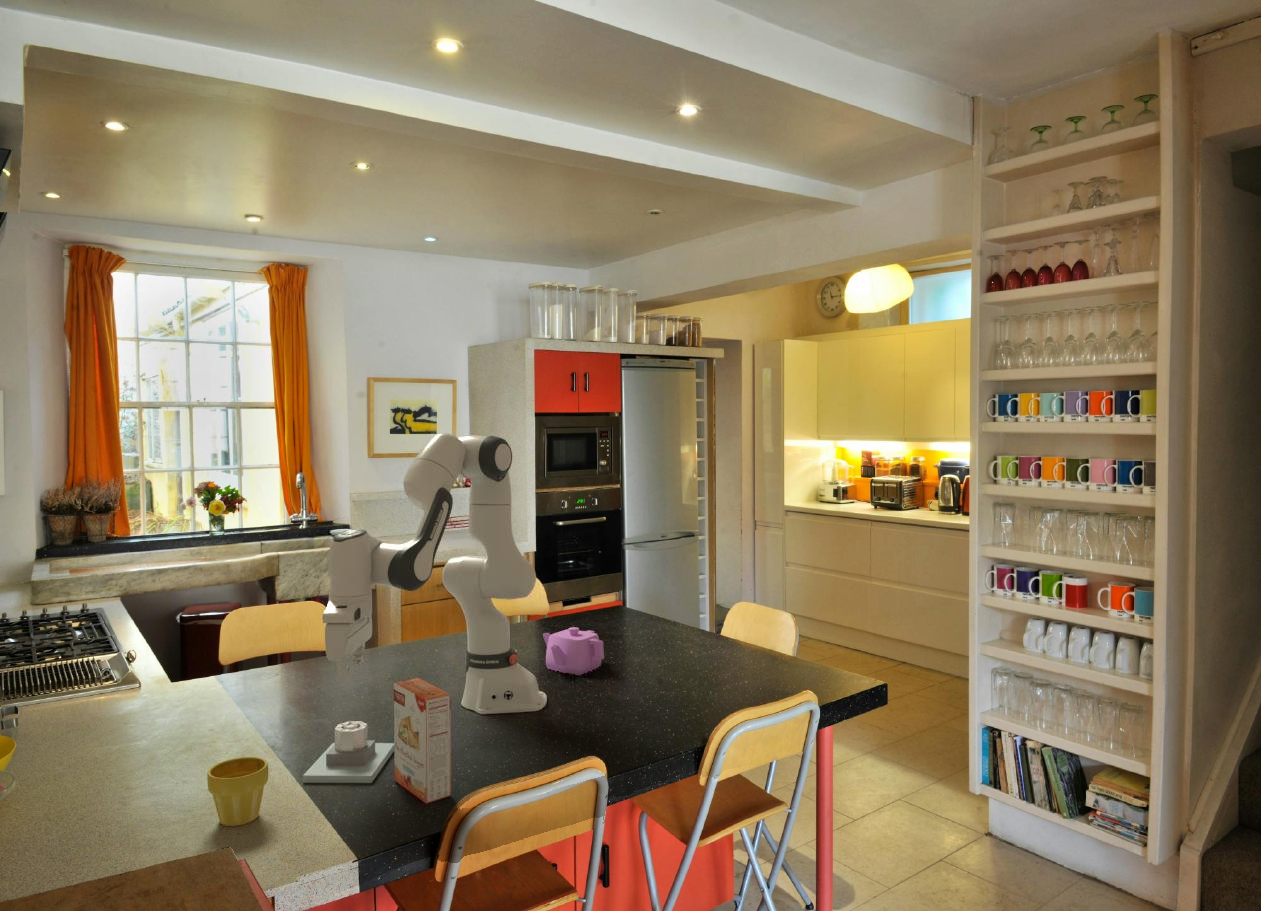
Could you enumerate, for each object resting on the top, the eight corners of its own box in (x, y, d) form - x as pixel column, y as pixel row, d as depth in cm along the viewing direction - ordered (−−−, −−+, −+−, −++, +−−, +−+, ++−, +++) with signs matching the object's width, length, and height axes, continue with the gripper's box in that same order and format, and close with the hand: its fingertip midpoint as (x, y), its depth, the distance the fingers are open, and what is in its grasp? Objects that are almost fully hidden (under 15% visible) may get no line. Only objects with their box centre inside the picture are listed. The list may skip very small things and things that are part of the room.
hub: (369, 741, 187) (369, 721, 187) (361, 752, 181) (361, 731, 181) (341, 741, 187) (341, 721, 187) (331, 752, 181) (331, 731, 181)
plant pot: (194, 825, 156) (194, 772, 156) (238, 802, 166) (238, 752, 165) (238, 835, 152) (237, 781, 152) (281, 811, 162) (280, 760, 162)
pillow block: (394, 749, 193) (394, 712, 193) (371, 782, 175) (371, 742, 175) (332, 749, 193) (332, 712, 193) (303, 782, 175) (302, 741, 175)
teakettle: (606, 674, 253) (606, 633, 253) (549, 677, 249) (549, 636, 249) (595, 659, 270) (595, 620, 270) (541, 662, 266) (542, 622, 266)
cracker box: (392, 782, 176) (392, 681, 175) (419, 774, 180) (419, 676, 179) (424, 805, 165) (424, 698, 164) (452, 797, 169) (452, 692, 168)
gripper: (351, 596, 193) (351, 656, 194) (319, 616, 173) (319, 684, 173) (379, 596, 193) (379, 656, 194) (350, 617, 173) (350, 684, 173)
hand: (351, 670), depth 183 cm, fingers open, 8 cm apart
